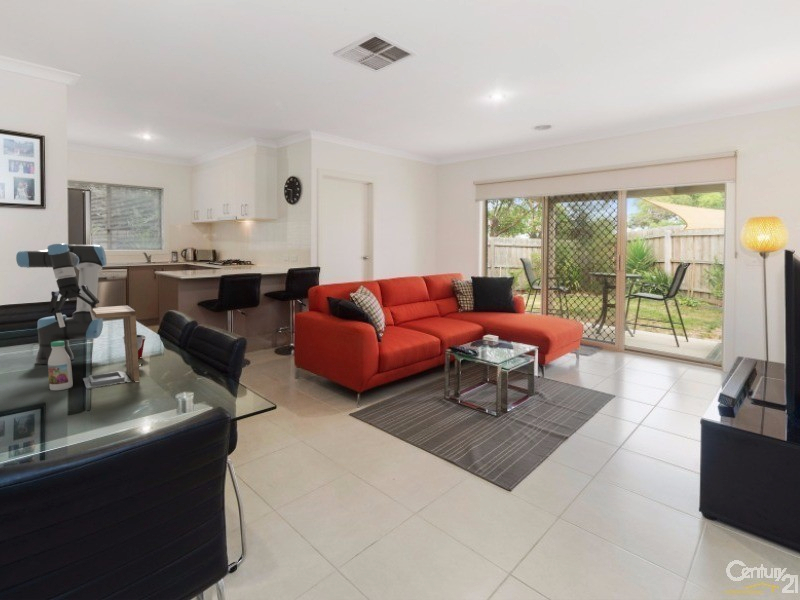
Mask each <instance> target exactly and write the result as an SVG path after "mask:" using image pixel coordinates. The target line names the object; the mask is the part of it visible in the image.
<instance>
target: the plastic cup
mask: <svg viewBox="0 0 800 600" xmlns="http://www.w3.org/2000/svg"><path fill="white" fill-rule="evenodd" d="M141 335H142V346H141V348H140V349H139V350H138V358H140V357H143V352H144V345H145V340H146V338H147V336H146V335H143V334H141ZM122 339H123V340H124V336H122ZM140 359H141V358H140Z"/></svg>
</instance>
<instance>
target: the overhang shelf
mask: <svg viewBox="0 0 800 600" xmlns="http://www.w3.org/2000/svg"><path fill="white" fill-rule="evenodd" d="M91 312H92V313H93V315H94V316H95V317H96V318H102V319H106V318H107V319H108V318H121V317H122V322H123V337H124V339H123V341H124V340H125V344H124V351H125V353H124V354H125V368H126V369H125V370H126V372H125V373H126V374H127V375H128V374H129V375H130V376H129V375H128V376H129V377H130V379H131V378H132V379H133V380H134V381H140V369H139V368H140V366H139V364H140V363H139V359H138V346H137V335H138V333H137V332H138V331H137V313H136V310H134V308H131V306H129V305H116V306H101V307H99V306H98V307H96V308H91ZM132 379H131V380H132ZM133 380H132V381H133ZM134 381H133V382H134Z"/></svg>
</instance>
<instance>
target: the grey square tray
mask: <svg viewBox="0 0 800 600" xmlns="http://www.w3.org/2000/svg"><path fill="white" fill-rule="evenodd" d="M129 377H130V376H129V375H128V374H127V372H125V371H124V372H122V371H121V370H117V371H111V372H104V373H98V374H97V373H96V374H91V375H88V377H83V378H82V381H83V383H84V386H85V389H86V390H89V389H95V388H96V387H97V388H102V387H101V386H103V387H106V386H105V385H109V386H111V385H110V384H115V383H120V382H127V381H131V382H132V379H131V378H129ZM127 383H128V382H127ZM115 385H116V384H115Z"/></svg>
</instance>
